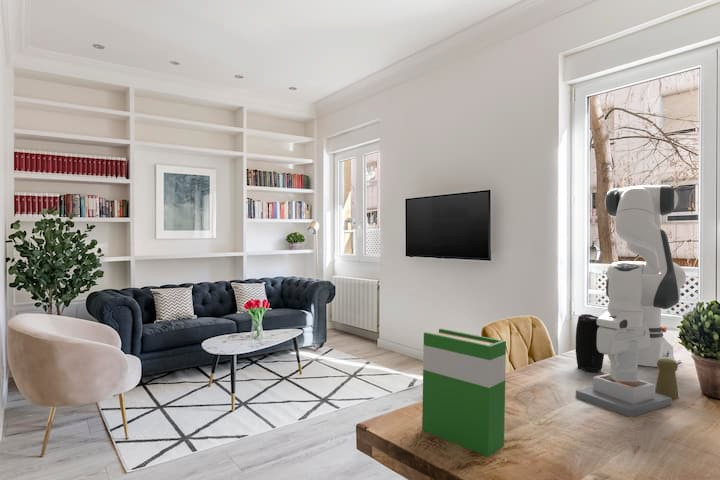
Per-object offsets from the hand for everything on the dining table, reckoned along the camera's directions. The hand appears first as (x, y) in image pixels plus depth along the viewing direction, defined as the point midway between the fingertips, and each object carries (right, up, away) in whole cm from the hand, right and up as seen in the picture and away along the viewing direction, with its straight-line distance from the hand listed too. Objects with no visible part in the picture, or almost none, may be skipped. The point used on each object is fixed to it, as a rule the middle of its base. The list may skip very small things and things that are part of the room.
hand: (623, 365), depth 130 cm
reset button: (0, -8, 0) cm, 8 cm away
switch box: (0, -10, 0) cm, 10 cm away
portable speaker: (+6, -10, +30) cm, 32 cm away
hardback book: (-54, -10, -25) cm, 60 cm away
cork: (+16, -11, +5) cm, 20 cm away
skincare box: (0, -5, 0) cm, 5 cm away
